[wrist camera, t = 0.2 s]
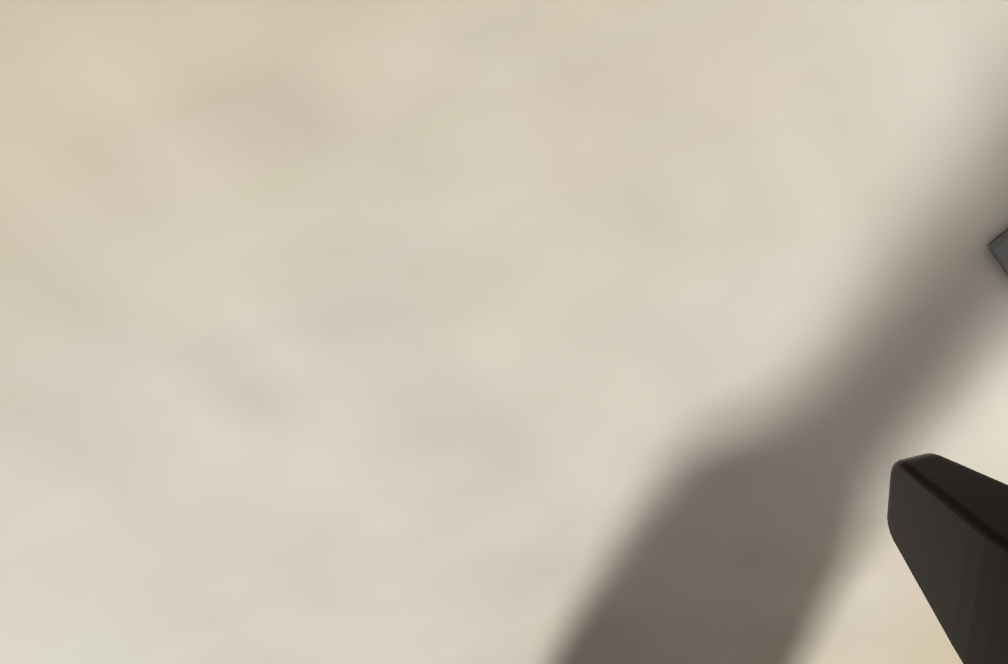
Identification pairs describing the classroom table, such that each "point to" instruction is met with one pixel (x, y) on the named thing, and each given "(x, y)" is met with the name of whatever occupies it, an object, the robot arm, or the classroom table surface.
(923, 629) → the classroom table surface
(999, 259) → the felt mat
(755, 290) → the classroom table surface
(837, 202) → the classroom table surface
